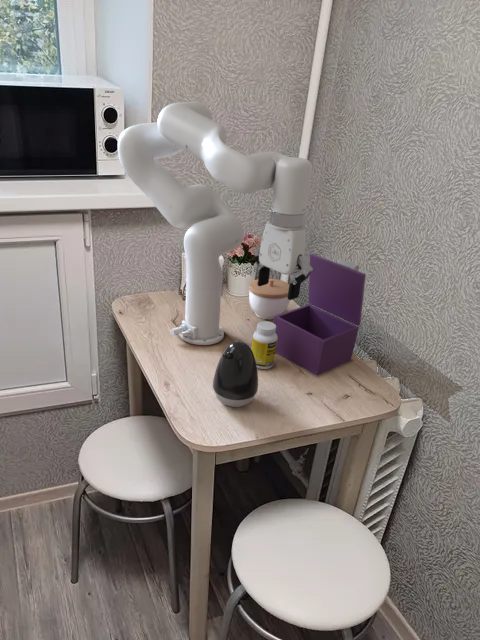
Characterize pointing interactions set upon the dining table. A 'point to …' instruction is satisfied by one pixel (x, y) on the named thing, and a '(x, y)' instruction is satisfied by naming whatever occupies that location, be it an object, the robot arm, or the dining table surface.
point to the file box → (314, 339)
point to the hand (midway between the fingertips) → (277, 291)
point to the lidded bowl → (269, 298)
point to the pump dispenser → (236, 375)
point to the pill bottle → (264, 344)
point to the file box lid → (337, 288)
